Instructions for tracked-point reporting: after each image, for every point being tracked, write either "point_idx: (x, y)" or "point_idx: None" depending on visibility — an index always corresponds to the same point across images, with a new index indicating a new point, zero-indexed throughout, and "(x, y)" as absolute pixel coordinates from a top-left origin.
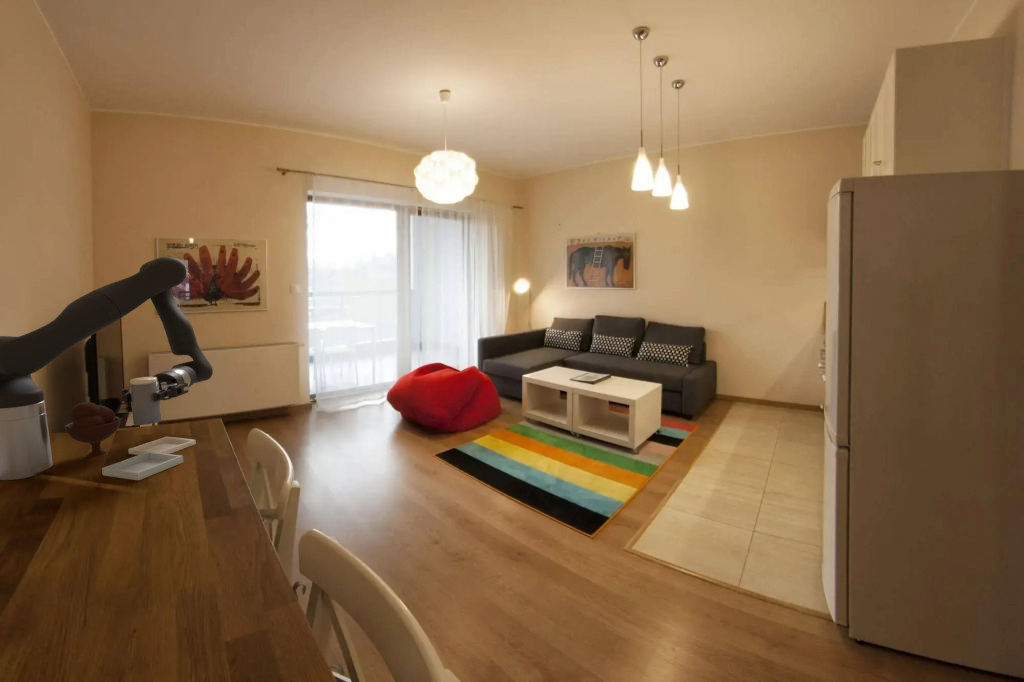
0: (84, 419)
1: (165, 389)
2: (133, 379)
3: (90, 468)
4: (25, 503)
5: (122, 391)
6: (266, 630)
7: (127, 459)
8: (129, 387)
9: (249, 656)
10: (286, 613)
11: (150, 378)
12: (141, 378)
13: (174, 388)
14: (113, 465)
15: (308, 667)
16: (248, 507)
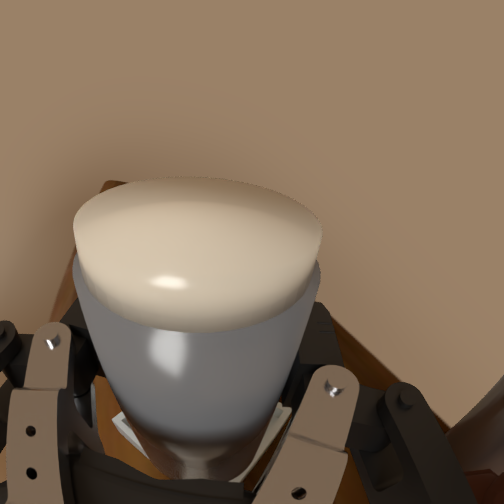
0: (480, 478)
1: (53, 324)
2: (297, 218)
3: (357, 486)
4: (347, 348)
5: (401, 387)
6: (113, 187)
7: (257, 453)
8: (442, 499)
9: (122, 184)
10: (103, 189)
11: (135, 205)
12: (231, 226)
13: (5, 322)
14: (275, 423)
15: (108, 180)
16: (74, 250)
